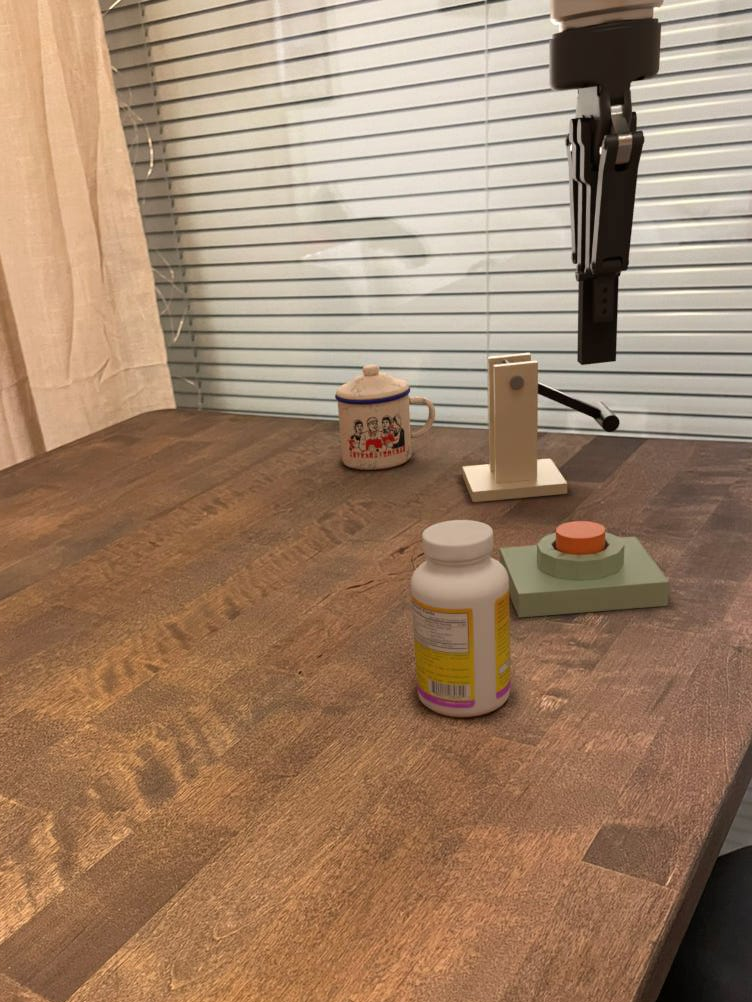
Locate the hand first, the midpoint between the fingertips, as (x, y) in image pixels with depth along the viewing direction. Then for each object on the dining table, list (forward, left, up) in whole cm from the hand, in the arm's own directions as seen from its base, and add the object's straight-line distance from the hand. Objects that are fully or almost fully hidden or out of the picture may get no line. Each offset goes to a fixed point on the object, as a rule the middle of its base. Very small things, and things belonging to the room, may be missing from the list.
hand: (596, 360), depth 81 cm
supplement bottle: (+14, +20, -19) cm, 31 cm away
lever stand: (+3, -25, -19) cm, 31 cm away
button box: (+2, +3, -19) cm, 19 cm away
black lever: (-1, -25, -10) cm, 27 cm away
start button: (+2, +3, -15) cm, 15 cm away
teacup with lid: (+16, -39, -19) cm, 46 cm away
